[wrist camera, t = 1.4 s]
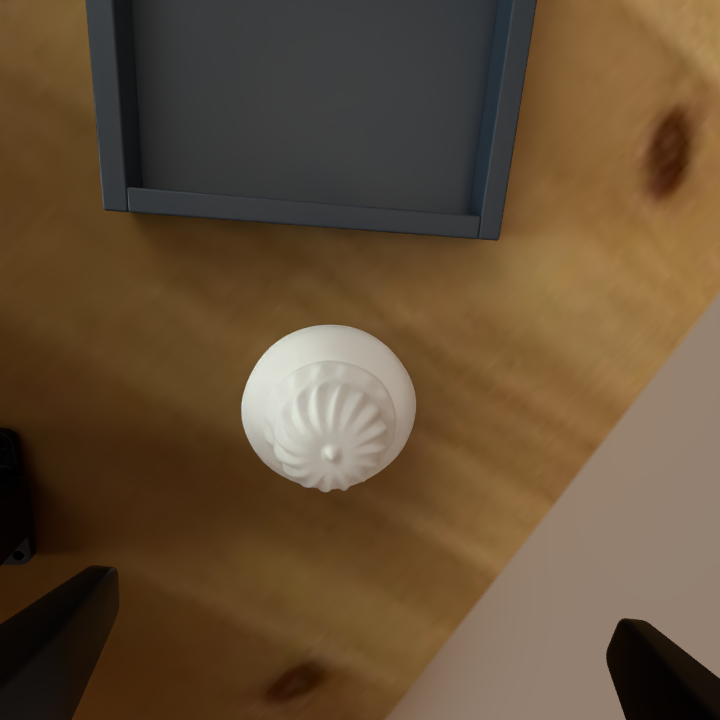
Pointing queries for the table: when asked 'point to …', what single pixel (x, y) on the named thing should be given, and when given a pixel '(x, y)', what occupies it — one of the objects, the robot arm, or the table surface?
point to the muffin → (328, 407)
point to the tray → (311, 110)
